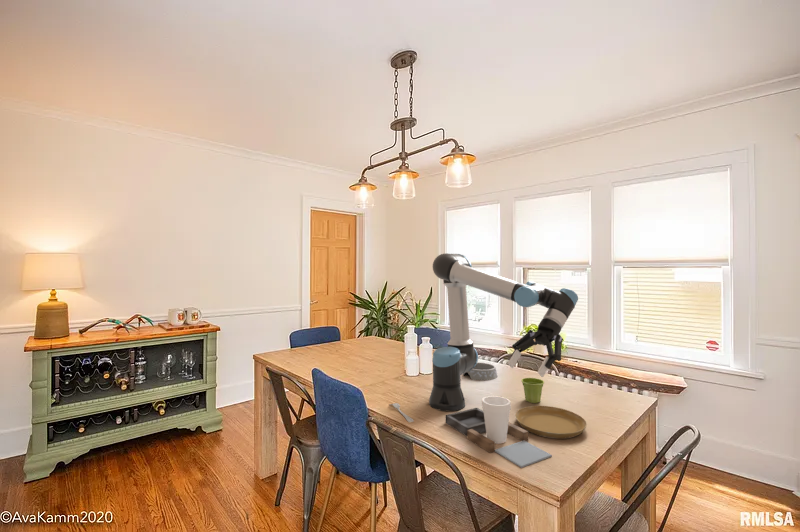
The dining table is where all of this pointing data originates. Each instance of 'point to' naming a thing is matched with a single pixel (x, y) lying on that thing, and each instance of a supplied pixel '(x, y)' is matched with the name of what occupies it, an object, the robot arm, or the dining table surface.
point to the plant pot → (532, 389)
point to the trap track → (479, 428)
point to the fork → (402, 412)
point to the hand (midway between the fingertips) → (524, 370)
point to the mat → (523, 453)
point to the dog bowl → (483, 372)
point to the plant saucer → (550, 421)
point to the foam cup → (496, 417)
